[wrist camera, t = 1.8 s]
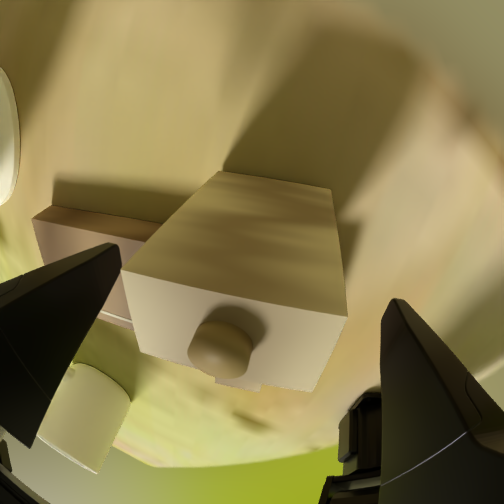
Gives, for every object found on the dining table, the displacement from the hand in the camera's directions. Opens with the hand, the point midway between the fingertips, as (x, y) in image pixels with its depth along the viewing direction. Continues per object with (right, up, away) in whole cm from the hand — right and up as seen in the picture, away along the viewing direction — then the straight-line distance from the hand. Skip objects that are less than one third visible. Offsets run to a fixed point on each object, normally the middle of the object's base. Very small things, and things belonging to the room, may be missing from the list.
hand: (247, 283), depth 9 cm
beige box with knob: (+1, 0, +6) cm, 6 cm away
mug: (-18, -13, +19) cm, 30 cm away
